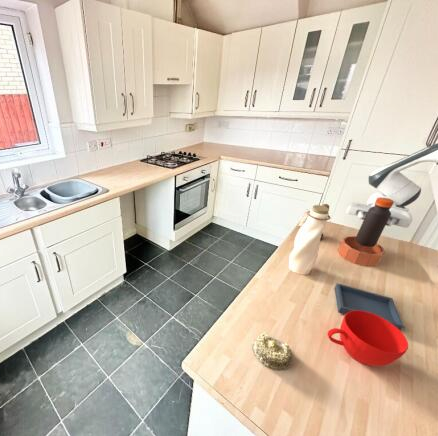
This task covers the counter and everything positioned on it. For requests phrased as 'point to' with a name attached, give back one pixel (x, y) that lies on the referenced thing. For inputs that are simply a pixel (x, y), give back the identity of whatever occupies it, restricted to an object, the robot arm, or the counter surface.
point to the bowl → (358, 257)
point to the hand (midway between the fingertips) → (375, 221)
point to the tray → (367, 304)
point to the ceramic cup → (370, 338)
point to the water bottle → (308, 240)
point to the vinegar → (374, 222)
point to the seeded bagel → (272, 352)
